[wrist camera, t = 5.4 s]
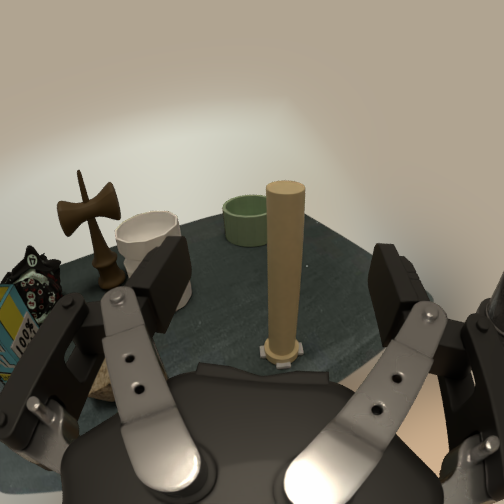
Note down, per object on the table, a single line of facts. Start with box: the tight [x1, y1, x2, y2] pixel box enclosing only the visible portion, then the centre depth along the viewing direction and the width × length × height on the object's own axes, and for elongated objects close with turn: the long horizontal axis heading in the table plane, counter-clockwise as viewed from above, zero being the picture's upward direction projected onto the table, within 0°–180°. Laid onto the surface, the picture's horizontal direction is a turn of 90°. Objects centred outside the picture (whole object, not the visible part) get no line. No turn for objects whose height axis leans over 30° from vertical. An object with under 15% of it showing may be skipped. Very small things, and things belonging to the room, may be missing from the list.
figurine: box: [0, 245, 62, 324], centre depth 34 cm, size 10×15×14 cm
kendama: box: [57, 170, 126, 289], centre depth 39 cm, size 6×10×20 cm, turn 123°
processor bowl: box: [222, 195, 267, 247], centre depth 55 cm, size 10×10×6 cm
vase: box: [115, 211, 192, 311], centre depth 38 cm, size 9×9×12 cm
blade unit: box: [260, 181, 305, 369], centre depth 27 cm, size 5×5×20 cm
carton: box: [0, 284, 40, 385], centre depth 22 cm, size 7×8×18 cm
